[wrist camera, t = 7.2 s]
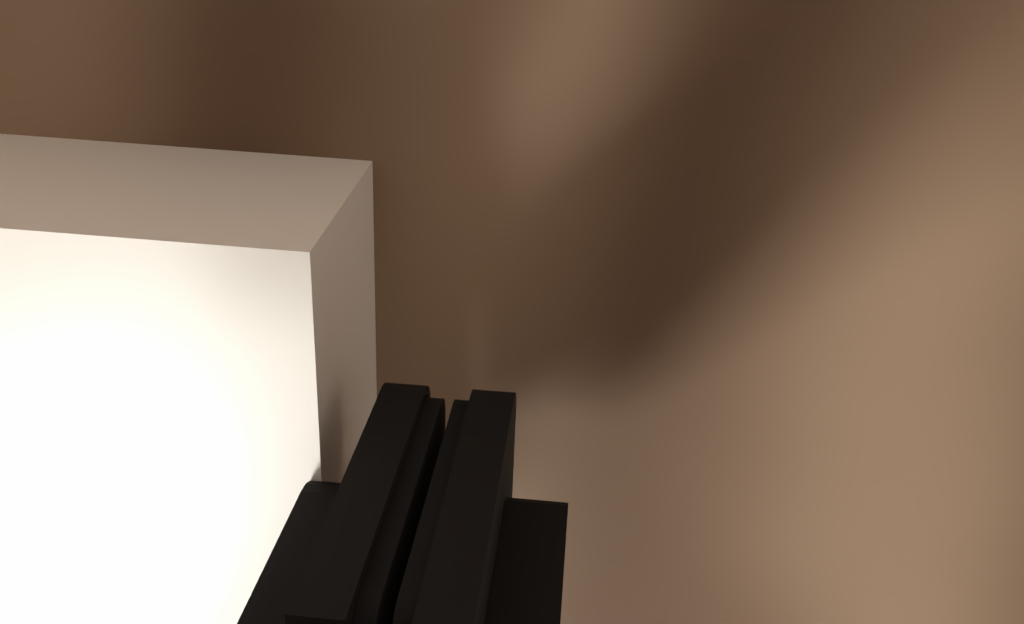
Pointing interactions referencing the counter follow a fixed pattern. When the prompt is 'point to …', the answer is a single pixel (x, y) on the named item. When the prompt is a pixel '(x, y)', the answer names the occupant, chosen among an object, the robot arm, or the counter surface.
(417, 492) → the robot arm
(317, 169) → the cream bevelled block
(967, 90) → the board
